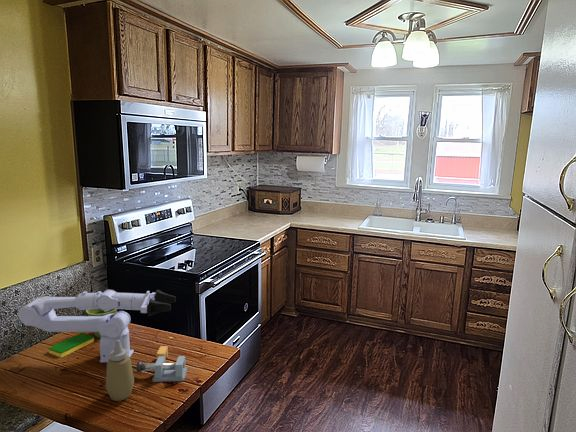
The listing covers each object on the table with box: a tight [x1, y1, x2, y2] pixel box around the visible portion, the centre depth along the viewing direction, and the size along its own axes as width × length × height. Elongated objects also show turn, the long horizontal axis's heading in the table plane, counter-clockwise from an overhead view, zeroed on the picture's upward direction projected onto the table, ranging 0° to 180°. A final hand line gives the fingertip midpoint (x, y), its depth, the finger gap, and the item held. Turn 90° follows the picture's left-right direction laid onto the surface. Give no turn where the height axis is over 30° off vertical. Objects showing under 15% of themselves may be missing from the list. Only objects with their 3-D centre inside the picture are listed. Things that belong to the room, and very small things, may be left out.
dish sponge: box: [48, 332, 95, 358], centre depth 149 cm, size 7×14×2 cm, turn 154°
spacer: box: [156, 345, 169, 360], centre depth 141 cm, size 3×5×4 cm, turn 5°
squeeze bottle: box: [105, 340, 135, 402], centre depth 119 cm, size 8×8×18 cm
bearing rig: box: [152, 355, 188, 383], centre depth 131 cm, size 10×6×6 cm, turn 95°
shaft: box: [135, 361, 176, 373], centre depth 131 cm, size 12×3×3 cm, turn 95°
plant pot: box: [85, 308, 118, 339], centre depth 158 cm, size 12×12×11 cm
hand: (173, 303), depth 141 cm, fingers open, 7 cm apart
